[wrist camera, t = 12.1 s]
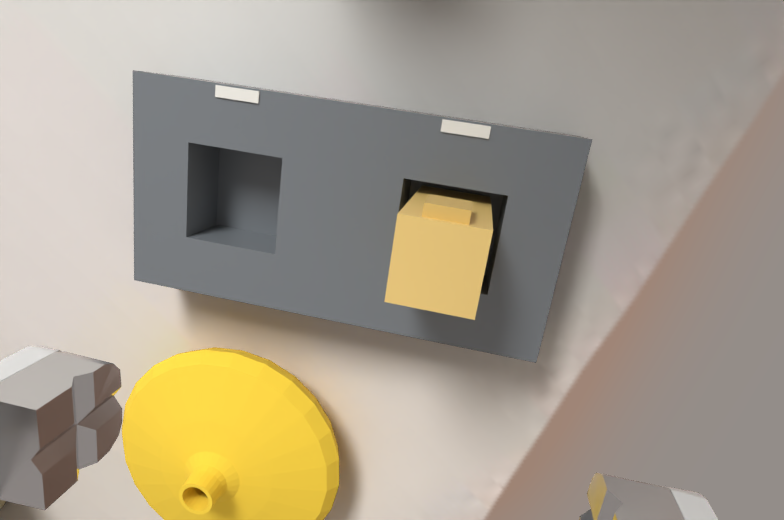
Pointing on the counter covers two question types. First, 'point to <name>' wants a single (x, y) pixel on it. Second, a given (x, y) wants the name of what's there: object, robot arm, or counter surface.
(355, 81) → the counter surface
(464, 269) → the plug
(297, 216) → the jack panel
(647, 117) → the counter surface
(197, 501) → the yellow round knobbed piece
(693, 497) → the robot arm
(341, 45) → the counter surface
